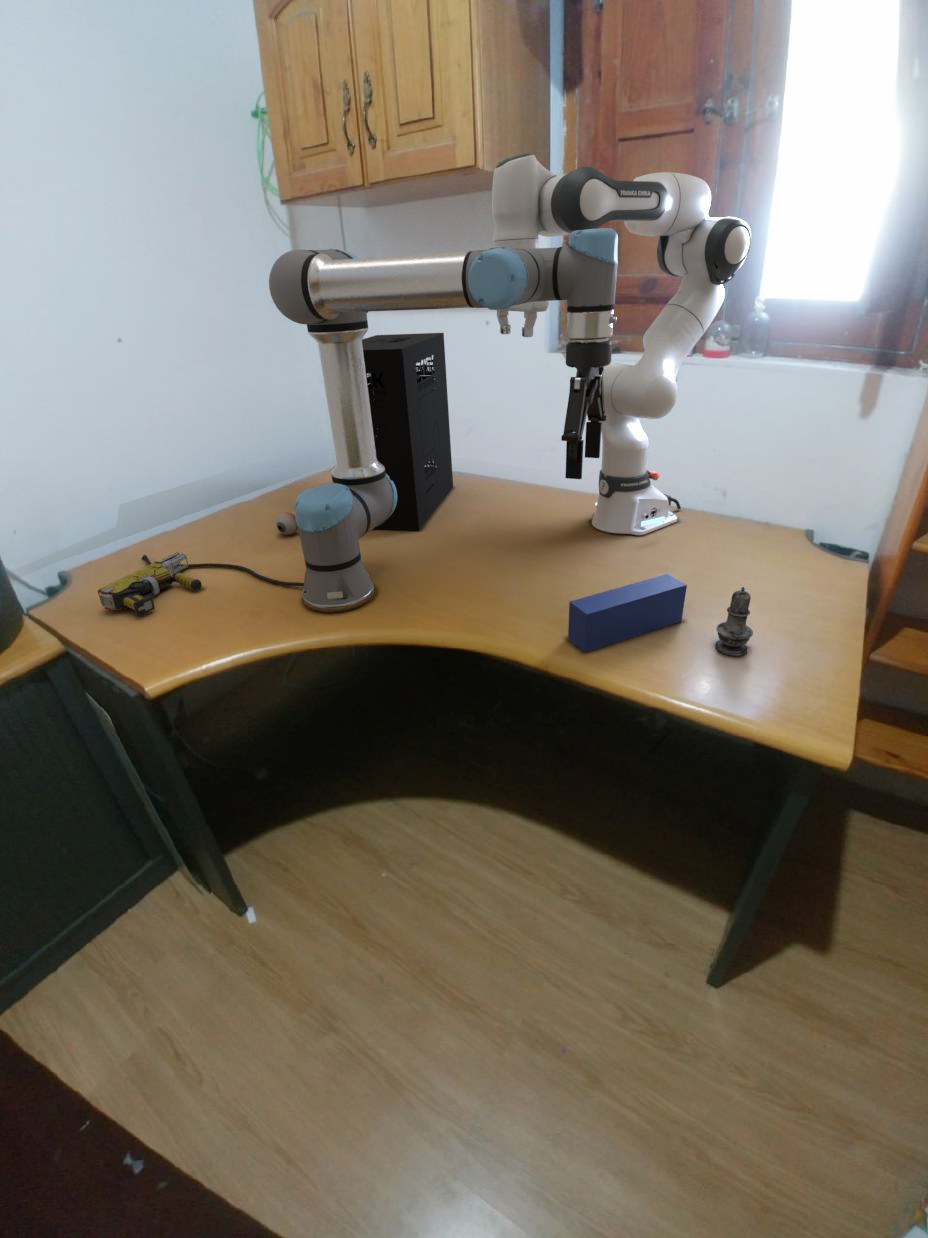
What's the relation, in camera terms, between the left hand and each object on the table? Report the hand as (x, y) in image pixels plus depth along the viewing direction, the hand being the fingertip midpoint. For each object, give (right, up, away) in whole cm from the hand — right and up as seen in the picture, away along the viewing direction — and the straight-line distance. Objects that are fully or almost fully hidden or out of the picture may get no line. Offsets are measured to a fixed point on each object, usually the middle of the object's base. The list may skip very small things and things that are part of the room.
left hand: (583, 467), depth 110 cm
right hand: (-11, +31, +15) cm, 36 cm away
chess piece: (+25, -33, -4) cm, 42 cm away
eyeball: (-70, -5, +55) cm, 89 cm away
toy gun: (-90, -22, +28) cm, 96 cm away
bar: (+9, -30, +3) cm, 31 cm away
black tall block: (-39, +6, +70) cm, 81 cm away
